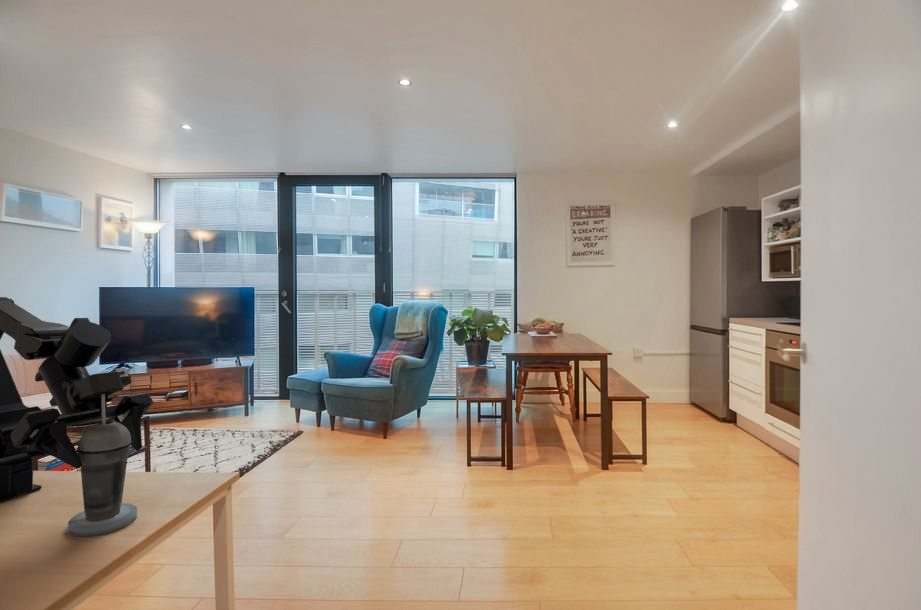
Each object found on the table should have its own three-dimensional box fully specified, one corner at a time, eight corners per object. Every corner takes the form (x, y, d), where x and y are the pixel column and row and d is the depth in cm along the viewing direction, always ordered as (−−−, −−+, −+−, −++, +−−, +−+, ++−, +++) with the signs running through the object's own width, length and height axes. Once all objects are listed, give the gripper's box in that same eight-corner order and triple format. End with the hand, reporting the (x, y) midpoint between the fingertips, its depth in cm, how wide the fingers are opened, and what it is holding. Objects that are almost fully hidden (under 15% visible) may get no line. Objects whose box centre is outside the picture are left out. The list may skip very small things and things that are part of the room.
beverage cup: (87, 530, 70) (90, 402, 70) (65, 517, 73) (69, 395, 73) (138, 512, 76) (142, 394, 76) (117, 501, 80) (120, 388, 79)
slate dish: (53, 531, 72) (53, 523, 72) (110, 506, 80) (110, 499, 80) (95, 540, 69) (96, 532, 69) (149, 514, 78) (150, 507, 78)
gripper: (24, 360, 67) (68, 444, 63) (148, 349, 85) (189, 415, 81) (-8, 406, 70) (33, 489, 66) (118, 387, 88) (156, 452, 84)
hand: (111, 457), depth 74 cm, fingers open, 9 cm apart
